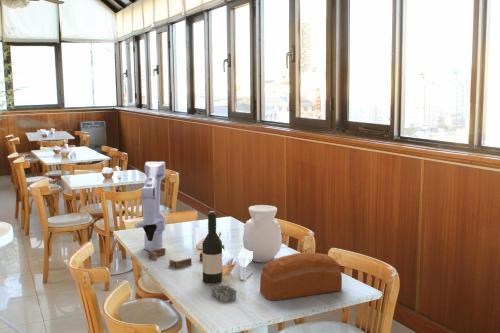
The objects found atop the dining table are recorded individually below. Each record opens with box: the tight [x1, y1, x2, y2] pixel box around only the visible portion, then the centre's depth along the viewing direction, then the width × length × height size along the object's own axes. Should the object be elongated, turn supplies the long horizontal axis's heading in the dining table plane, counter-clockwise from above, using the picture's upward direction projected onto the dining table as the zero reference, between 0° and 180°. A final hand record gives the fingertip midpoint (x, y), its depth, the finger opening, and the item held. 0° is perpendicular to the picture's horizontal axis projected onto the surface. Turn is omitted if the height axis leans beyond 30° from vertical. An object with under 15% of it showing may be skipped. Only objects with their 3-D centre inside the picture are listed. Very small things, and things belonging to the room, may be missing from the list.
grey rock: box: [210, 284, 238, 302], centre depth 227 cm, size 11×8×4 cm
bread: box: [259, 252, 343, 301], centre depth 233 cm, size 14×33×16 cm, turn 111°
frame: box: [148, 247, 192, 270], centre depth 271 cm, size 22×9×3 cm, turn 43°
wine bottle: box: [201, 210, 223, 285], centre depth 243 cm, size 8×8×30 cm
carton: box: [199, 244, 225, 262], centre depth 278 cm, size 8×16×4 cm, turn 169°
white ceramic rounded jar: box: [242, 204, 283, 263], centre depth 272 cm, size 19×18×25 cm
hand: (150, 240), depth 269 cm, fingers closed
